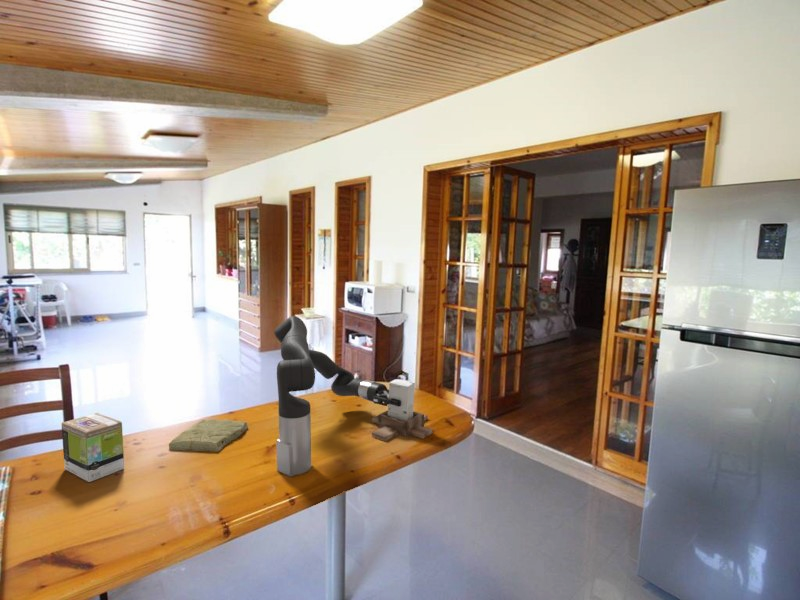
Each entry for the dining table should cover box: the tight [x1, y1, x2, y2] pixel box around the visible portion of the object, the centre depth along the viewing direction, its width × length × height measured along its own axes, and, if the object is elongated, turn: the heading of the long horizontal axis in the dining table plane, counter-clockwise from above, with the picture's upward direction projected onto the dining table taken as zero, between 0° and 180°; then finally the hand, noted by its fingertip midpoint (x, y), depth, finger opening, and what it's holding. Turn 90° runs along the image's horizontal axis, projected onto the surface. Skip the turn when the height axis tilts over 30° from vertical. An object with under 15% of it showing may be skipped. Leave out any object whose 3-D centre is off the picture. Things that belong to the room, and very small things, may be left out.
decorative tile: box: [168, 418, 249, 452], centre depth 150 cm, size 19×20×4 cm
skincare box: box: [387, 378, 416, 421], centre depth 159 cm, size 8×6×15 cm
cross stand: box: [371, 410, 433, 442], centre depth 160 cm, size 26×24×5 cm
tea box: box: [61, 412, 125, 483], centre depth 127 cm, size 15×10×15 cm
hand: (406, 401), depth 157 cm, fingers closed on skincare box, 6 cm apart
